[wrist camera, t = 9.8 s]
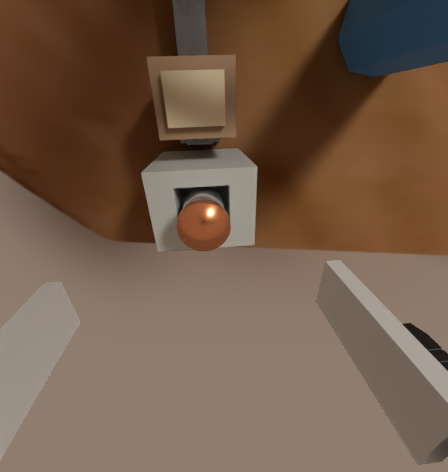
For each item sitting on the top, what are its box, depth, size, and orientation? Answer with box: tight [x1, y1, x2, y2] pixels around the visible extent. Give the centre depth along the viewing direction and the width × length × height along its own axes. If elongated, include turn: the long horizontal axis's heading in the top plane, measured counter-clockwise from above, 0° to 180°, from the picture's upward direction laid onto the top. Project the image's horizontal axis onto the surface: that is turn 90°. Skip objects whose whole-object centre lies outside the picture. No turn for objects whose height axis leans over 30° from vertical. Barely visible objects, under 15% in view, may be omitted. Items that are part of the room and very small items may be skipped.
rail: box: [172, 0, 220, 145], centre depth 23 cm, size 18×5×3 cm, turn 2°
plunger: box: [177, 186, 231, 251], centre depth 21 cm, size 4×4×6 cm
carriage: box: [146, 55, 236, 140], centre depth 22 cm, size 6×7×10 cm
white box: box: [141, 148, 258, 252], centre depth 26 cm, size 8×10×12 cm
